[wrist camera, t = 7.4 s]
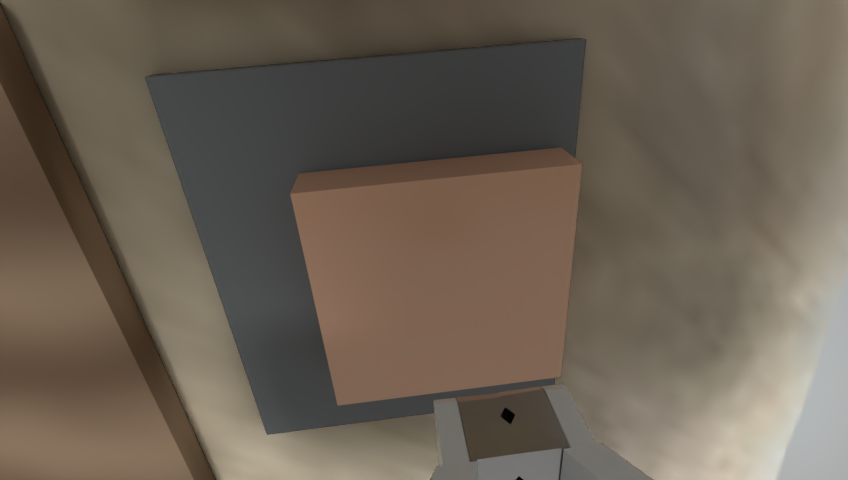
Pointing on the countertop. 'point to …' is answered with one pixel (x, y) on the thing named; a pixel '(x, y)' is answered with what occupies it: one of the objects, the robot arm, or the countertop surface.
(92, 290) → the board
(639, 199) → the countertop surface
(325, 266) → the tile
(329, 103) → the mat
